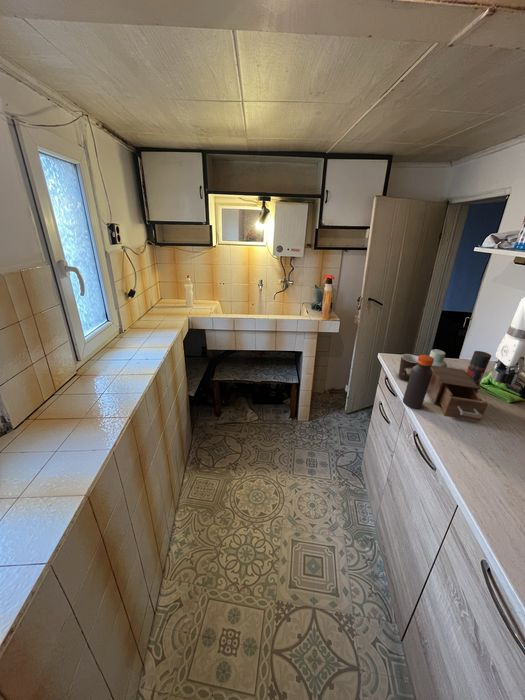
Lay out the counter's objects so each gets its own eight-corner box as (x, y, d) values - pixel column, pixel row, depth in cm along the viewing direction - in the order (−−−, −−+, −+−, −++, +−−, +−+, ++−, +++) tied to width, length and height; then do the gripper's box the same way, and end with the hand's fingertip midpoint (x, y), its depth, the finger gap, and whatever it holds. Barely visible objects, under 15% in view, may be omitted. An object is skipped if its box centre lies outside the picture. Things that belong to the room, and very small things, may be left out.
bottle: (410, 409, 105) (425, 362, 97) (398, 399, 111) (411, 354, 103) (425, 408, 107) (441, 361, 98) (413, 398, 113) (427, 353, 104)
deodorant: (464, 379, 128) (476, 349, 122) (479, 384, 124) (492, 354, 118) (460, 383, 124) (472, 353, 118) (476, 389, 120) (489, 358, 114)
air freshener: (430, 364, 141) (436, 346, 136) (447, 371, 134) (453, 352, 130) (417, 369, 135) (423, 350, 131) (434, 377, 129) (440, 357, 125)
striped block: (508, 378, 104) (511, 370, 102) (514, 384, 100) (518, 375, 99) (489, 376, 105) (493, 367, 104) (494, 381, 102) (498, 373, 100)
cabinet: (470, 409, 107) (479, 388, 103) (434, 403, 110) (441, 382, 105) (456, 389, 120) (464, 369, 116) (424, 384, 122) (430, 365, 118)
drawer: (485, 430, 95) (494, 411, 91) (448, 424, 97) (456, 405, 94) (464, 400, 111) (471, 383, 107) (433, 395, 113) (439, 378, 110)
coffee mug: (392, 377, 127) (397, 357, 123) (400, 371, 133) (406, 352, 128) (419, 388, 120) (425, 367, 115) (426, 381, 125) (433, 361, 121)
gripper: (497, 324, 103) (480, 368, 111) (523, 341, 88) (501, 390, 96) (521, 326, 102) (501, 370, 109) (551, 344, 87) (527, 393, 94)
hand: (501, 379), depth 103 cm, fingers closed on striped block, 4 cm apart
